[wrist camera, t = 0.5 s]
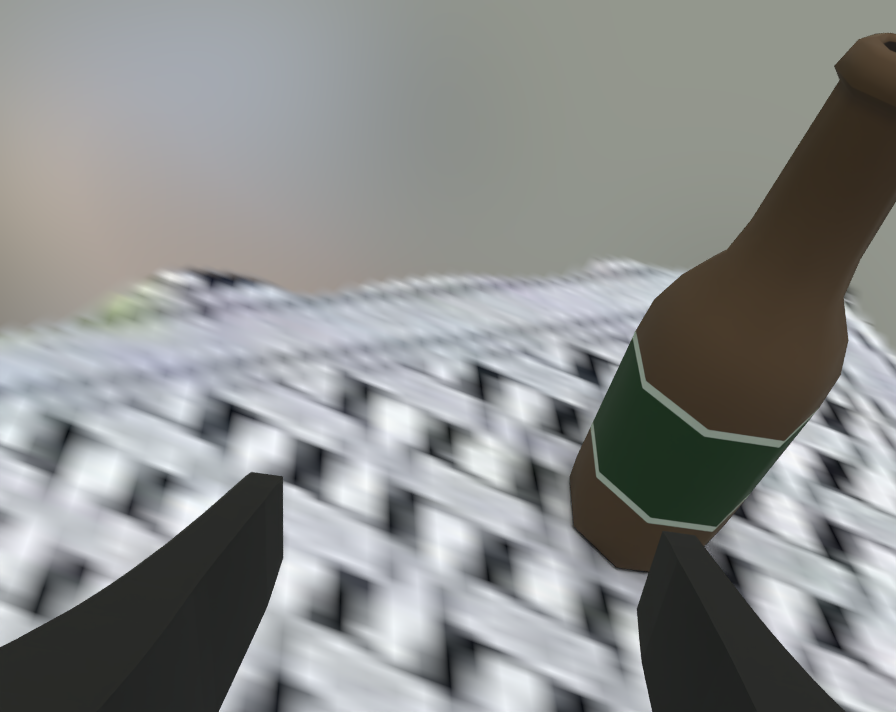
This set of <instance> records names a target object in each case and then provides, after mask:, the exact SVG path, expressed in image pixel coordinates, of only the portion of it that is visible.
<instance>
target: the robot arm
mask: <svg viewBox="0 0 896 712" xmlns="http://www.w3.org/2000/svg"><path fill="white" fill-rule="evenodd" d="M282 560H283V477H282V476H275V475H268V474H261V473H254V472H251V473H249V474H248V475H247V476H245V477H244V478H243V479H242V480H241V481H240V482H238V483H237V484H236V485H235V486H234V487H233V488H232V489H231V490H229V491H228V492H227V493H226V494H225V495H224V496H223V497H221V498H220V499H219V500H218V501H217V502H216V503H215V504H214V505H212V506H211V507H210V508H209V509H208V510H207V511H205V512H204V513H203V514H202V515H201V516H200V517H198V518H197V519H196V520H195V521H194V522H192V523H191V524H190V525H189V526H187V527H186V528H185V529H184V530H183V531H181V532H180V533H179V534H178V535H176V536H175V537H174V538H173V539H172V540H170V541H169V542H168V543H167V544H165V545H164V546H163V547H161V548H160V549H159V550H157V551H156V552H155V553H153V554H152V555H151V556H149V557H148V558H147V559H145V560H144V561H142V562H141V563H140V564H138V565H137V566H136V567H134V568H133V569H132V570H130V571H129V572H128V573H126V574H125V575H123V576H122V577H120V578H119V579H117V580H116V581H115V582H113V583H112V584H110V585H109V586H107V587H106V588H104V589H103V590H101V591H100V592H98V593H96V594H95V595H93V596H92V597H90V598H88V599H87V600H85V601H84V602H82V603H81V604H79V605H77V606H76V607H74V608H72V609H71V610H69V611H67V612H65V613H63V614H62V615H60V616H58V617H56V618H54V619H52V620H51V621H49V622H47V623H45V624H43V625H41V626H40V627H38V628H36V629H34V630H32V631H30V632H29V633H27V634H25V635H23V636H21V637H19V638H18V639H16V640H14V641H12V642H10V643H8V644H6V645H4V646H2V647H0V712H219V710H220V708H221V705H222V703H223V701H224V699H225V697H226V695H227V693H228V690H229V688H230V686H231V684H232V682H233V680H234V678H235V675H236V673H237V671H238V669H239V667H240V665H241V663H242V660H243V658H244V656H245V654H246V652H247V650H248V648H249V645H250V643H251V641H252V639H253V637H254V635H255V632H256V630H257V628H258V626H259V624H260V622H261V619H262V617H263V615H264V613H265V610H266V608H267V606H268V603H269V600H270V597H271V594H272V591H273V588H274V585H275V582H276V579H277V575H278V572H279V569H280V566H281V563H282ZM637 616H638V629H639V640H640V650H641V659H642V666H643V670H644V675H645V680H646V685H647V689H648V694H649V699H650V703H651V708H652V712H845V711H844V710H843V709H842V708H841V707H840V706H839V705H838V704H837V703H836V702H835V701H834V700H833V699H832V698H831V697H830V696H829V695H828V694H827V693H826V692H825V691H824V690H823V689H822V688H821V687H820V686H819V685H818V684H817V683H816V682H815V681H814V680H813V679H812V677H811V676H810V675H809V674H808V673H807V672H806V671H805V670H804V669H803V668H802V666H801V665H800V664H799V663H798V662H797V661H796V660H795V659H794V658H793V656H792V655H791V654H790V653H789V652H788V651H787V650H786V649H785V648H784V646H783V645H782V644H781V643H780V642H779V641H778V639H777V638H776V637H775V636H774V635H773V634H772V632H771V631H770V630H769V629H768V628H767V626H766V625H765V624H764V623H763V622H762V620H761V619H760V618H759V617H758V615H757V614H756V613H755V612H754V611H753V609H752V608H751V607H750V606H749V604H748V603H747V602H746V601H745V599H744V598H743V597H742V595H741V594H740V593H739V592H738V590H737V589H736V588H735V586H734V585H733V584H732V583H731V581H730V580H729V579H728V577H727V576H726V575H725V573H724V572H723V571H722V570H721V568H720V567H719V566H718V564H717V563H716V562H715V560H714V559H713V558H712V556H711V555H710V554H709V552H708V551H707V550H706V548H705V547H704V546H703V544H702V543H701V542H700V541H699V539H698V538H697V537H696V536H695V535H689V534H682V533H675V532H668V531H662V534H661V537H660V540H659V543H658V546H657V549H656V552H655V555H654V558H653V561H652V565H651V568H650V571H649V574H648V577H647V580H646V583H645V586H644V589H643V592H642V595H641V598H640V601H639V604H638V607H637Z"/></svg>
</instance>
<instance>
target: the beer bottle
mask: <svg viewBox="0 0 896 712" xmlns="http://www.w3.org/2000/svg"><path fill="white" fill-rule="evenodd" d="M834 67H835V69H836V72H837V74H838V77H839V79H840V80H839V82H838V84H837V85H836V87H835V88H834V90H833V91H832V93H831V95H830V96H829V98H828V99H827V101H826V103H825V104H824V106H823V107H822V109H821V110H820V112H819V114H818V115H817V117H816V118H815V120H814V122H813V123H812V125H811V126H810V128H809V130H808V131H807V133H806V134H805V136H804V137H803V139H802V140H801V142H800V144H799V145H798V147H797V148H796V150H795V152H794V153H793V155H792V156H791V158H790V159H789V161H788V163H787V164H786V166H785V167H784V169H783V171H782V172H781V174H780V175H779V177H778V179H777V180H776V182H775V183H774V185H773V186H772V188H771V189H770V191H769V193H768V194H767V196H766V197H765V199H764V201H763V202H762V204H761V205H760V207H759V208H758V210H757V212H756V213H755V215H754V216H753V218H752V219H751V221H750V222H749V223H748V224H747V226H746V227H745V228H744V230H743V231H742V232H741V233H740V234H739V235H738V237H737V238H736V239H735V240H734V242H733V243H732V244H731V245H730V247H729V248H728V249H727V250H725V251H723V252H721V253H719V254H717V255H715V256H713V257H712V258H710V259H708V260H706V261H705V262H703V263H701V264H699V265H698V266H696V267H694V268H693V269H691V270H689V271H687V272H686V273H684V274H682V275H681V276H680V277H679V278H678V279H677V280H675V281H674V282H673V283H672V284H671V285H670V286H669V287H668V288H667V289H665V290H664V291H663V292H662V293H661V294H660V295H659V296H658V297H656V298H655V299H654V301H653V302H652V304H651V306H650V307H649V309H648V311H647V313H646V314H645V316H644V318H643V319H642V321H641V323H640V324H639V326H638V328H637V329H636V331H635V333H634V335H633V338H632V340H631V342H630V344H629V346H628V348H627V350H626V353H625V355H624V357H623V359H622V361H621V363H620V365H619V368H618V370H617V372H616V374H615V376H614V378H613V380H612V383H611V385H610V387H609V389H608V391H607V393H606V395H605V398H604V400H603V402H602V404H601V406H600V408H599V410H598V412H597V415H596V417H595V419H594V421H593V423H592V425H591V427H590V430H589V432H588V434H587V436H586V438H585V440H584V442H583V445H582V447H581V449H580V451H579V453H578V455H577V458H576V461H575V463H574V466H573V469H572V472H571V474H570V486H571V498H572V510H573V523H574V527H575V528H576V529H577V530H578V531H579V532H580V533H581V534H582V535H583V536H584V537H585V538H586V539H587V540H588V541H589V542H591V543H592V544H593V545H594V546H595V547H596V548H597V549H598V550H599V551H600V552H601V553H602V554H603V555H604V556H605V557H606V558H607V559H608V560H609V561H610V562H611V563H612V564H613V565H614V566H615V567H617V568H624V569H632V570H639V571H647V572H649V571H650V568H651V565H652V561H653V558H654V555H655V552H656V549H657V546H658V543H659V540H660V537H661V534H662V531H668V532H675V533H682V534H689V535H695V536H696V537H697V538H698V539H699V541H700V542H701V543H702V544H703V546H705V545H706V544H707V543H708V542H709V541H710V540H711V539H712V538H713V537H714V536H715V535H716V534H717V533H718V531H719V530H720V529H721V528H722V527H723V526H724V525H725V524H726V523H727V522H728V520H729V519H730V518H731V517H732V515H733V514H734V513H735V512H736V510H737V509H738V508H739V507H740V505H741V504H742V503H743V502H744V500H745V499H746V498H747V497H748V495H749V494H750V493H751V492H752V491H753V489H754V488H755V487H756V486H757V484H758V483H759V482H760V481H761V479H762V478H763V477H764V476H765V474H766V473H767V472H768V471H769V469H770V468H771V467H772V466H773V464H774V463H775V462H776V461H777V459H778V458H779V457H780V456H781V454H782V453H783V452H784V451H785V450H786V448H787V447H788V446H789V445H790V443H791V442H792V441H793V440H794V438H795V437H796V436H797V435H798V433H799V432H800V431H801V430H802V428H803V427H804V426H805V425H806V423H807V422H808V421H809V420H810V418H811V417H812V416H813V415H814V414H815V412H816V411H817V410H818V409H819V407H820V406H821V404H822V403H823V401H824V400H825V398H826V397H827V395H828V393H829V392H830V390H831V389H832V387H833V386H834V384H835V383H836V381H837V380H838V378H839V377H840V375H841V371H842V366H843V362H844V357H845V353H846V348H847V344H848V333H847V324H846V316H845V307H844V298H843V297H844V295H845V293H846V291H847V288H848V286H849V284H850V281H851V279H852V277H853V275H854V273H855V270H856V268H857V266H858V264H859V261H860V259H861V258H862V256H863V254H864V253H865V251H866V249H867V248H868V246H869V244H870V243H871V241H872V240H873V238H874V236H875V235H876V233H877V231H878V230H879V228H880V226H881V225H882V223H883V222H884V220H885V218H886V217H887V215H888V213H889V212H890V210H891V209H892V207H893V205H894V204H895V202H896V34H893V33H879V34H874V35H870V36H867V37H864V38H862V39H859V40H858V41H857V42H856V43H855V44H854V45H853V46H852V47H851V48H850V49H849V51H848V52H847V53H846V54H845V55H844V56H843V57H842V58H841V59H840V60H839V61H838V62H837V64H836V65H835V66H834Z"/></svg>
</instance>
